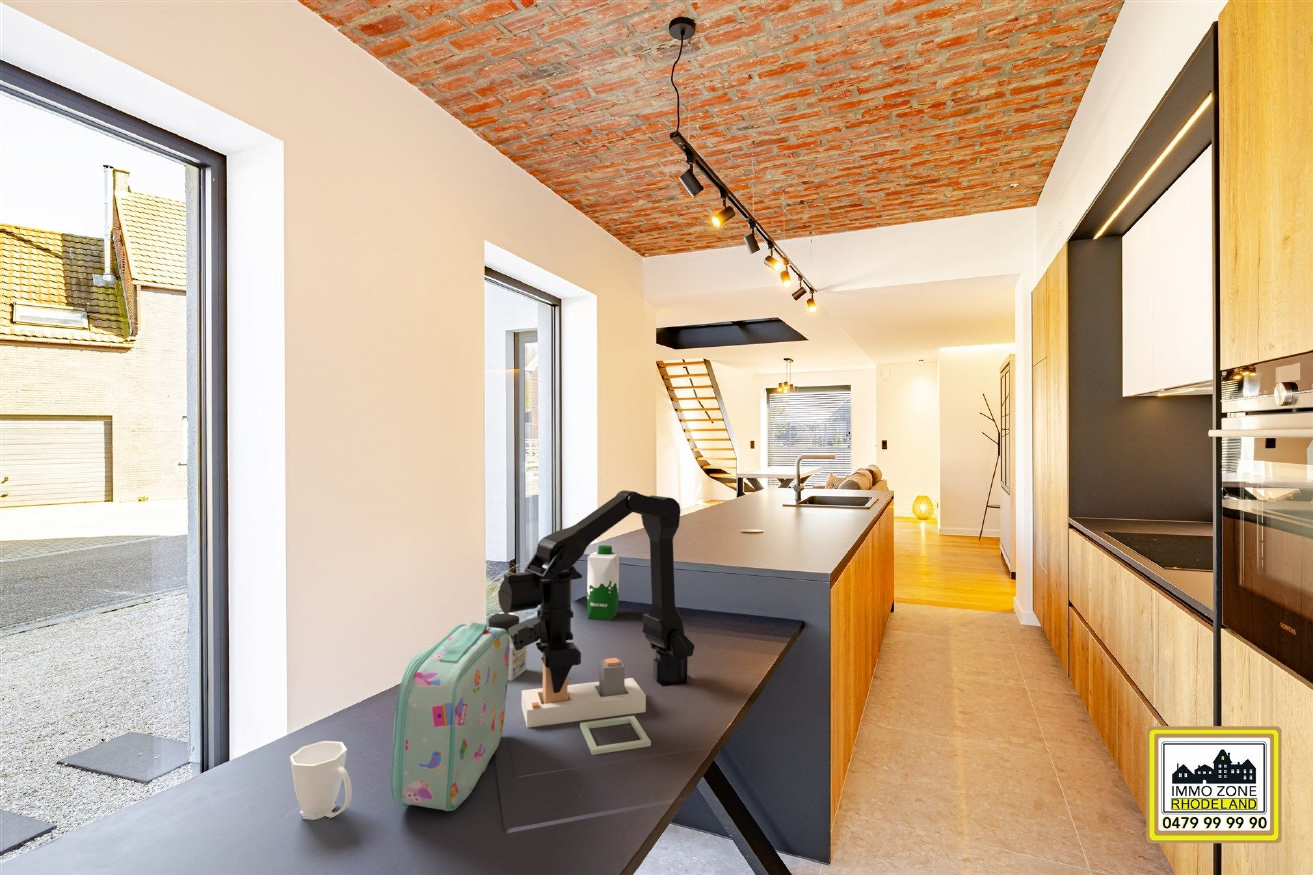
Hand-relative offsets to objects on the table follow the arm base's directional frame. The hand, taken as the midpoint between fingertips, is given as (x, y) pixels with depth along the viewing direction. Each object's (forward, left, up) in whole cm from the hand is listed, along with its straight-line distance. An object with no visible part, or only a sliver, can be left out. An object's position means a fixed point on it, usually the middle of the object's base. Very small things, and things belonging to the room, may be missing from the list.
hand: (554, 687), depth 114 cm
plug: (0, 0, -2) cm, 2 cm away
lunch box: (+18, +15, -5) cm, 24 cm away
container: (+8, -23, -5) cm, 25 cm away
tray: (-8, +12, -5) cm, 16 cm away
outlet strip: (-5, 0, -5) cm, 7 cm away
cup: (+35, +21, -5) cm, 41 cm away
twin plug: (-11, 0, -5) cm, 12 cm away
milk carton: (-23, -60, -5) cm, 65 cm away
